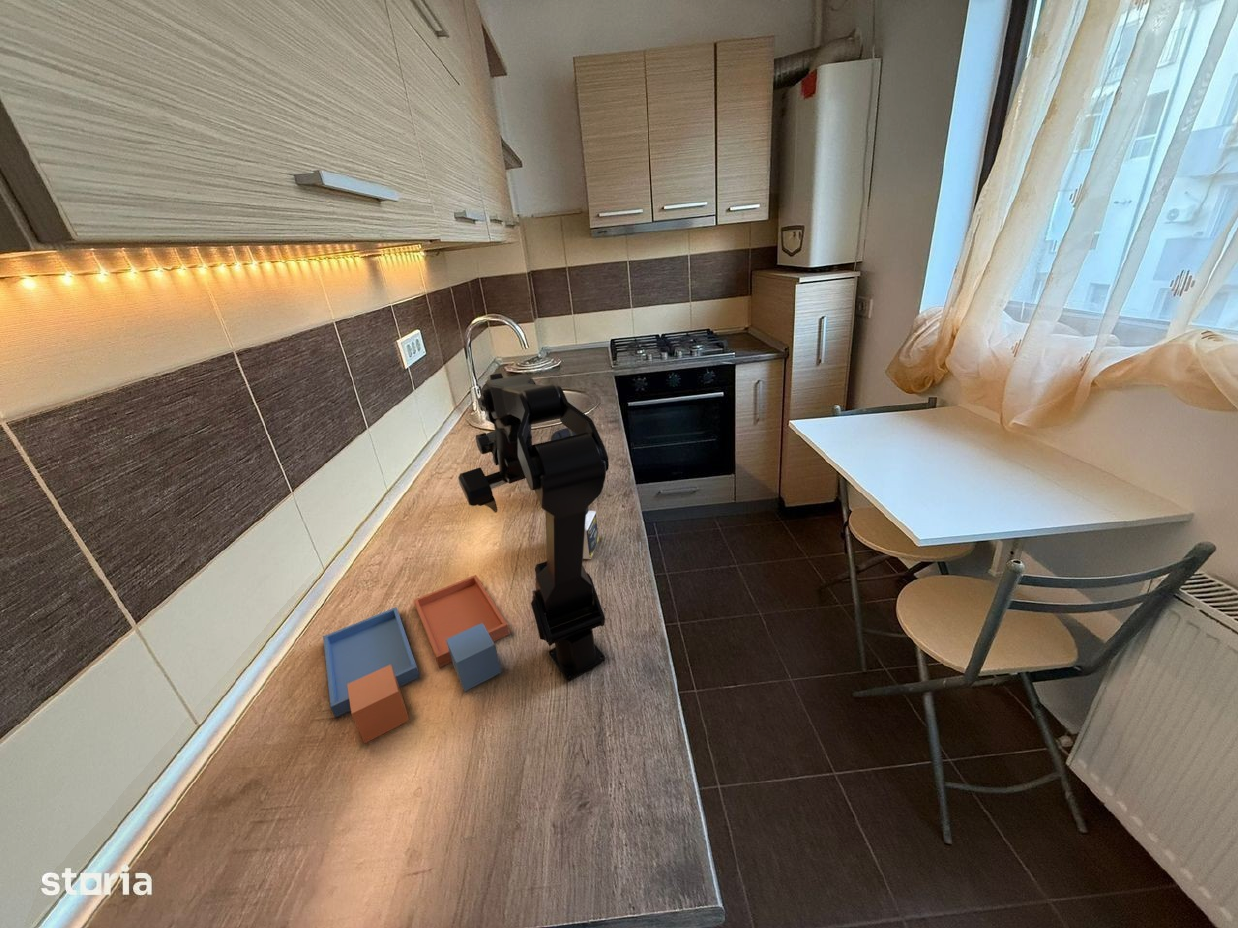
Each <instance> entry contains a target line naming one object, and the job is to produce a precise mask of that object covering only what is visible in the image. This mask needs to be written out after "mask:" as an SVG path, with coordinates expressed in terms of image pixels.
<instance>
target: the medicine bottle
mask: <svg viewBox="0 0 1238 928" xmlns="http://www.w3.org/2000/svg"><path fill="white" fill-rule="evenodd" d="M598 528H599V527H598V519H597V511H596V510H590V509H589V506H588V507H587V508H586V519H585V535H584V551H583V560H591V559H592V557H593V555H594V552H595V550H596V548H597V546H598V542H599V540H600V538H599V536H600V535H599V529H598Z"/></svg>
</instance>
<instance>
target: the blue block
mask: <svg viewBox="0 0 1238 928" xmlns="http://www.w3.org/2000/svg"><path fill="white" fill-rule="evenodd" d="M446 642H447V645H448V649H449V652H450V655H451V659H452V662H451V663H452V666H453V668H454V670H455V673H456V676H457V677H458V679H459V682H460V685H461V687H462V689H463V691H464V692H467V691H469V690H471V689H473V688H474V687H477V686H479V685H480V684H483V683H485V682H487V681H488V680H491V679H492V678H494V677H496V676H498V675H500V674H502V668H501V664H500V660H499V656H498V653H497V652H498V651H497V647H496V644H495V641H494V642H493V640H492V639H491V637H490V635H489V633H488V632H487V630H486V628H485V626H484V625H483V623H481V624H479V625H476V626H474V627H472V628H470V629H468V630H465V631H463V632H461V633H459V634H457V635H454V636H452V637H450V638H448V639H446Z"/></svg>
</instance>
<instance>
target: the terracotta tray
mask: <svg viewBox="0 0 1238 928" xmlns="http://www.w3.org/2000/svg"><path fill="white" fill-rule="evenodd" d="M413 603H414V606H415V610H416V612H417V615H418V617H419V620H420V622H421V625H422V627H423V630H424V632H425V635H426V638H427V640H428V643H429V645H430V648H431V650H432V653H433V655H434V658H435V661H436V663H437V665H438V668H442V667H444V666H447V665H448V664H450V663H453V662H452V659H451V655H450V652H449V649H448V645H447V642H446V639H448V638H450V637H452V636H454V635H457V634H459V633H461V632H463V631H465V630H468V629H470V628H472V627H474V626H476V625H479V624H481V623H483V625H484V626H485V628H486V630H487V632H488V633H489V635H490V637H491V639H492V640H493V642H494V643H495V642H496V641H499V640H500V639H502V638H504V637H507V636H509V635H510V629H509V624H508V622H507V621H506V619H505V618H504V616H503V615H502V613H501V612H500V610H499V608H498V607H497V605H496V604H495V602H494V601H493V599H492V598H491V596H490V594H489V593H488V591H487V590H486V588H485V587H484V585H483V583H482V582H481V580H480V579H479V578H478V575H477V574H475V575H472V576H469V577H467V578H464V579H461V580H460V581H456V582H455V583H452V584H449V585H447V586H445V587H441V588H439V589H437V590H435V591H432V592H430V593H427V594H425V595H422V596H420V597H417V598H414V599H413Z"/></svg>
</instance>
